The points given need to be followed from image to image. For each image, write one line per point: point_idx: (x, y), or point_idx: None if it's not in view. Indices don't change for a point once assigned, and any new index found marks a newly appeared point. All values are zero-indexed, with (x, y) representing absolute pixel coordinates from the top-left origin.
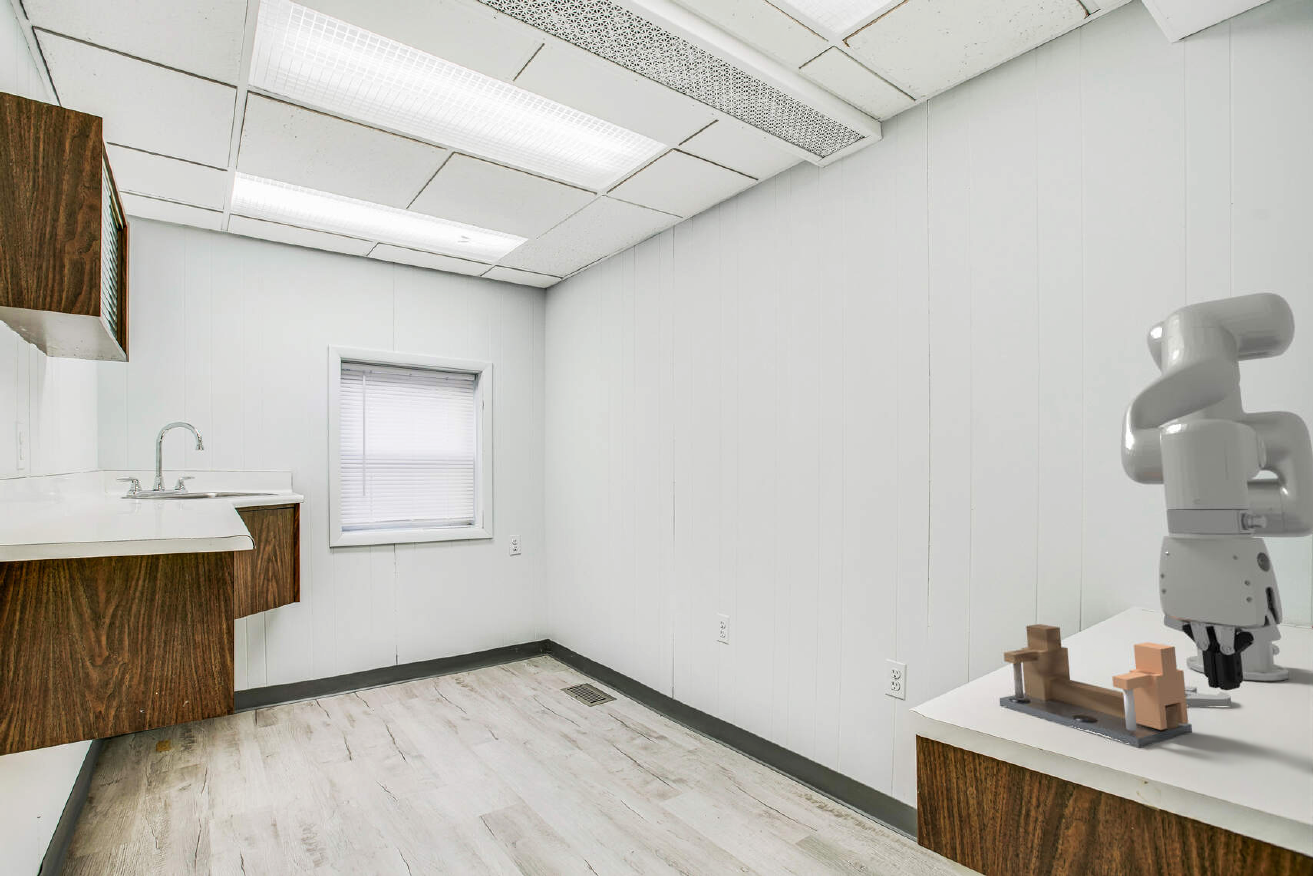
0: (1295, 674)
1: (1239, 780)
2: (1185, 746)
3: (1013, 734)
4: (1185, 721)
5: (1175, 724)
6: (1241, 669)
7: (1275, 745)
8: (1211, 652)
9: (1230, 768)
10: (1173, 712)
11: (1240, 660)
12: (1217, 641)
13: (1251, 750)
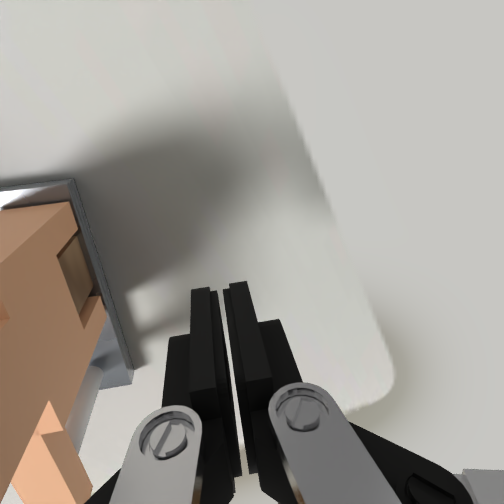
0: None
1: (301, 346)
2: (151, 283)
3: (15, 496)
4: (72, 217)
5: (80, 253)
6: (287, 347)
7: (212, 66)
8: (234, 485)
9: (264, 313)
10: (70, 271)
11: (298, 377)
12: (201, 463)
13: (216, 173)
